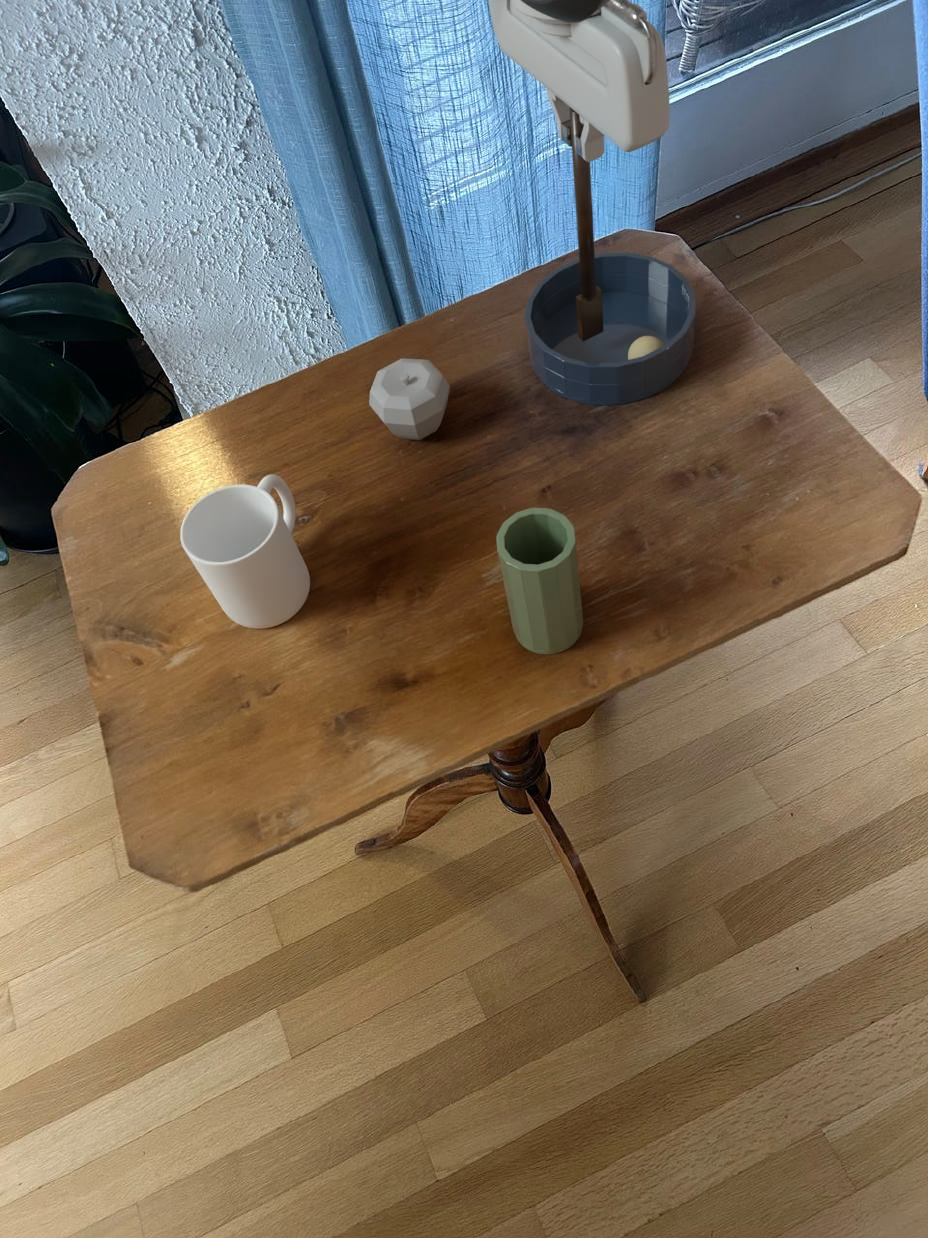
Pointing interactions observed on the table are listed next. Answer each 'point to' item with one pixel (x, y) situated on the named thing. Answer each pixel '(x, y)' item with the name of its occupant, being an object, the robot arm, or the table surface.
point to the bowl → (612, 330)
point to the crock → (541, 579)
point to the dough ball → (644, 346)
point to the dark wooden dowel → (585, 243)
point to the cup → (248, 552)
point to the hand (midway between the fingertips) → (581, 147)
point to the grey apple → (410, 398)
